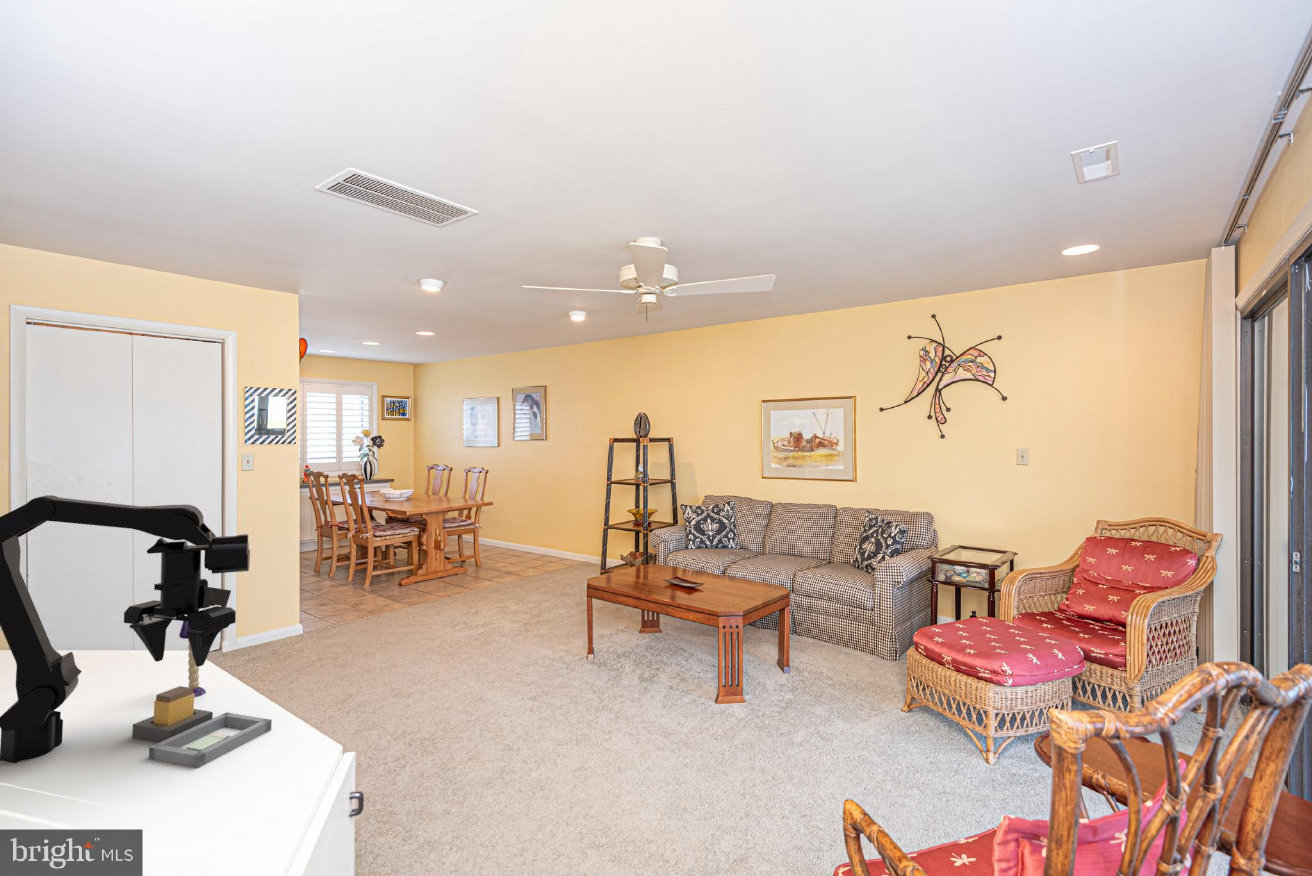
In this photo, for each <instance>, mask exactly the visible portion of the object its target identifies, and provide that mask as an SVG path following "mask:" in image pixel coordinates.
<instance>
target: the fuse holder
mask: <svg viewBox="0 0 1312 876" xmlns="http://www.w3.org/2000/svg"><path fill="white" fill-rule="evenodd" d="M213 714H214V713H213V711H211V710H203V709H198V708H194V709H193V716H190V717H188V718H186V719H183V720H181V721H179V722H176V723H174V724H172V725H169V726H163V725H157V724H154V715H152V716H149V717H147V718H145V719H143V720H140V721H138V722H136V723H132V733H131V734H132V735H131V737H132V738H131V739H135V740H141V741H147V742H152V743H155V744H158V743H160V742H162V741H164V740H166V739H169V738H171V737H173V736H175V735H177V734H180V733H182V732H184V731H186V730H189V729H191V728H193V727H195V726H197V725H200V724H202V723H204V722H206V721H209V720H211V719H213Z"/></svg>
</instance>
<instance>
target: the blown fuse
mask: <svg viewBox="0 0 1312 876" xmlns="http://www.w3.org/2000/svg"><path fill="white" fill-rule="evenodd" d="M155 697H156V700H154V704H153V705H154V706H153V716H154V724H157V725H163V726H169V725H172V724H174V723H176V722H179V721H181V720H183V719H186V718H188V717H190V716H193V709H195V708H194V705H195V704H194V703H195V702H194V701H195V697H194V693H193V688H189V686H188V687H187V686H181V685H179V686H176V687H174V688H171V689H167V690H166V691H163V692H160V693H158V694H156V695H155Z"/></svg>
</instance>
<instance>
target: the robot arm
mask: <svg viewBox="0 0 1312 876" xmlns="http://www.w3.org/2000/svg"><path fill="white" fill-rule="evenodd" d="M46 522H57V523H66V524H79V525H87V526H88V525H89V526H97V527H98V526H100V527H111V528H121V529H128V530H129V529H131V530H136V531H140V532H143V533H146V534H149V535H152V536H156V537H159V538H158V539H157V540H156V542H155V543H154V544H153V545H152V546H151V547H150V548H148V549H147V550H146V553H147V554H149V555H150V554H161V556H160V582H158V583H154V584H153V585H154V587H153V588H154V589H153V590H154V591H160V596H159V597H160V599H159V600H150V601H145V602H141V603H138V604H134V605H130V606H128V608H126V610H125V611H124V612H123V624H130V625H129V629H132V630H133V631H134V633H135V634H136V635H137V636H138V637H139V639H140V640H141V642H142V644H143V645H144V646H145V648H146V650H148V653H149V654H150V655H151V657H152V658H153V660H154V662H160V661H163V659H164V654H165V648H166V647H165V646H166V637H167V635H166V634H167V629H168V628H169V625H170V624H171V623H172V621H181V622H183V621H188V626H189V627H190V629H191V630H192V631H189V632H187V634H188V638H189V642H190V646H191V650H192V654H193V658H194V661H195V664H196V666H197V667H199V668H200V667H201V666H203V665H204V664H205V662H206V660H207V658H208V656H209V654H210V651H211V648H212V646H213V644H214V641H215V639H216V637H217V636H218V634H220V632H222V630H224V629H227V628H229V626H230V625H232V624H236V621H237V620H236V619H237V617H236V616H237V612H236V610H235V609H234V608H232V607H230V606H229V607H227V605H228V603H229V599H230V596H231V593H232V590H230V589H225V588H218V587H210V586H209V581H208V580H207V578H201V577H202V575H201V574H202V573H201V571H202V551H204V560H203V561H204V569H205V570H206V569H207V571H211V574H213V575H215V574H227V573H229V574H230V573H239V572H242V573H243V572H249V571H250V562H251V561H250V560H251V549H249V548H250V546H249V545H250V544H249V543H250V542H249V534H247V533H246V534H245V533H243V534H237V535H229V536H225V535H224V536H216V534H215V533H214V532H213V531H212V530H211V528H209V527H208V526H207V524H206V523H204V515H203V512H201V510H200V509H199V507H197V506H194V505H192V504H165V505H148V506H147V505H145V506H143V505H142V506H140V505H139V506H138V505H133V504H132V505H131V504H122V503H114V502H113V503H112V502H102V501H95V500H94V501H93V500H86V499H84V500H83V499H75V498H65V497H59V496H56V495H51V494H50V495H49V494H48V495H47V494H46V495H42V496H38V497H35V498H33V499H30V500H29V501H28V502H27V503H25V504H23V505H22V506H19V507H18V508H16V509H13V510H11V511H9V512H8V513H5V514H3V515H1V516H0V629H1V631H2V634H3V637H4V638H5V641H6V643H7V645H8V646H9V647H8V648H9V649H10V651H11V655H12V657H13V659H14V661H15V666H16V671H15V672H16V673H15V690H16V697H17V701H15V702H14V703H13V704H12V705H11V706H10V707H8V709H7V710H6V711H4V713H2V714H1V716H0V762H5V763H10V764H17V763H19V762H22V761H29V760H32V759H36V758H39V757H42V756H45V755H47V754H49V753H51V752H52V751H53V750H54V749H55V748H57V747H60V745H62V743H63V730H64V729H63V727H64V720H63V719H62V718H61V714H62V712H61V711H57V709H58V708H59V707H61V706H62V705H63V704H64V703H65V701H66V700H67V699H68V698H69V697H70V696H71V694H73V692H74V691H75V689H76V688H77V687H78V684H79V675H81V673H82V670H81V669H80V668H78V666H77V665H76V662H75V658H74V657H75V656H74V653H73V652H72V651H70V652H67V653H66V654H63V655H62V654H60V653H59V652H58V651H57V650H55V648H54V647H53V646H52V643H51V641H50V639H49V636H48V635H47V633H46V630H45V627H44V624H43V623H42V620H41V617H40V616H39V613H38V611H37V608H36V607H35V606H36V605H35V604H34V601H33V598H32V596H31V595H30V592H29V590H28V589H29V588H28V587H27V584H26V582H25V580H24V578H23V575H22V573H21V570H20V568H21V565H20V564H21V546H20V545H21V544H20V540H19V538H20V537H22V536H24V535H26V534H28V533H29V532H31V531H33V530H34V529H37V528H38V527H39V526H41V525H43V524H45V523H46ZM166 539H168V540H172V541H167V540H166ZM188 543H190V544H192V545H188ZM201 609H202V610H201ZM189 642H188V643H189Z"/></svg>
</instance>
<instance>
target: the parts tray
mask: <svg viewBox="0 0 1312 876" xmlns="http://www.w3.org/2000/svg"><path fill="white" fill-rule="evenodd" d="M272 722H273V720H272V719H271V718H270V719H269V718H264V717H257V716H252V715H246V714H239V713H233V712H224V713H222V714H220V715H218V716H216V717H212V719H211V720H209V721H206V722H204V723H202V724H200V725H197V726H195V727H193V728H191V729H189V730H186V731H184V732H182V733H180V734H177V735H175V736H173V737H171V738H169V739H166V740H164V741H162V742H160V743H155V744H153V745H151V746H149V747H148V760H152V761H153V760H154V761H159V762H163V763H168V764H175V765H180V766H186V767H191V768H194V769H195V768H196V769H199V768H201V767H203V766H205V765H207V764H209V763H211V762H212V761H214V760H217V759H218V758H220V757H222V756H224V755H226V754H228V753H230V752H232V751H234V750H235V749H238V748H239V747H241V746H243V745H246V744H248V743H249V742H251V741H252V740H254V739H257V738H258V737H261V736H262V735H264V734H266V733H268V732H270V731H271V730H272ZM225 727H228V728H234V729H239V730H240V731H239V732H237V733H235V734H233V735H229V737H228V738H226V739H224V740H222V741H220V742H218V743H216V744H214V745H212V746H210V747H208V748H206V749H204V750H202V751H200V752H198V751H193V750H187V748H182V747H184V746H186V745H189V744H190V743H194V742H196V741H197V740H200V739H201V738H204V737H206V736H208V735H211V734H212V733H214V732H216V731H218V730H221V729H222V728H225Z"/></svg>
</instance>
